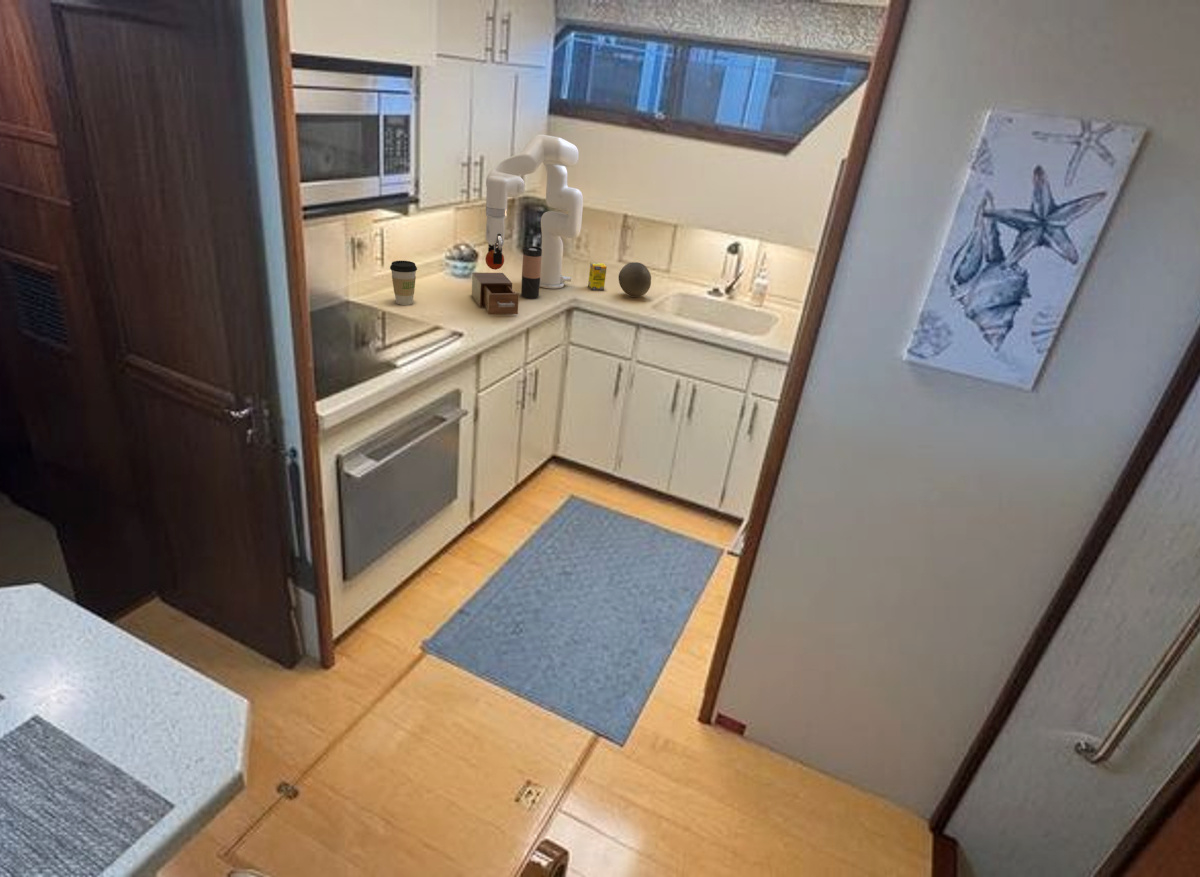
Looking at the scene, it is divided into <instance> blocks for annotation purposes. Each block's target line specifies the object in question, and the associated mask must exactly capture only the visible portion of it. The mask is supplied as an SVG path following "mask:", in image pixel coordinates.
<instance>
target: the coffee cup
mask: <svg viewBox="0 0 1200 877" xmlns="http://www.w3.org/2000/svg"><path fill="white" fill-rule="evenodd" d="M389 269H390V270H391V281H392V286H393V293H394V298H395V303H396V304H398V305H400V306H411V305H413V304H414V294H415V289H416V288H415V287H416V275H417V274H416V272H417V270H418V267H417V265H416V263H415V262H414V261H411V260H395V261H392V262H391V264H390V266H389Z"/></svg>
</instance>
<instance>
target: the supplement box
mask: <svg viewBox="0 0 1200 877" xmlns="http://www.w3.org/2000/svg"><path fill="white" fill-rule="evenodd" d="M606 275H607V266H606V265H605V263H603V262H600V263H599V262H590V264H589V272H588V283H587V287H588V288H589V289H590V290H591V291H602V292H604V291H605V284H606V277H607V276H606Z"/></svg>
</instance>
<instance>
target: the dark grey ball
mask: <svg viewBox="0 0 1200 877" xmlns="http://www.w3.org/2000/svg"><path fill="white" fill-rule="evenodd" d="M618 284H619V286H620V288H621V289H622V291H623V292H624V293H625V294H626V295H628V296H629V297H632V298H639V297H640V298H641V297H642V296H644V295H646V294H647V293H649V290H650V289H651V286H652V274H651V272H650V270H649V269H648V267H647V266H646V265H645V264H643V263H641V262H627V263H626V264H625V265H624V266H623V267H622V268H621V269H620V271H619V272H618Z"/></svg>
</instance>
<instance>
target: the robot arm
mask: <svg viewBox="0 0 1200 877" xmlns="http://www.w3.org/2000/svg"><path fill="white" fill-rule="evenodd" d="M579 157H580V152H579V149H578V147H577V146H576V145H575V144H574V143H572V142H570V141H568V140H566V139H564V138H562V137H560V136H553V135H548V134H535V135H534V136H533V137H531V138H530V140H529V141H528V142H527V143H526V145H525V146H524V147H523V148H522V149H521V151H520V152H519V153H518V154H514V155H512V156H509V157H507V158H504V159H502V160H500V161H498V162H497V163H496V164H495V165H494V166H493V167H492V168H491V170H490V171H489V172H488V174H487V176H486V179H485V186H486V195H485V196H486V202H485V207H486V208H485V216H486V227H485V241H486V242H487V243H488V246H487V247H488V248H487V250H488V251H487V253H488V252H489V251H491V250H494V253H493V263H494V264H502V254H503V247H504V245H505V225H506V223H505V219H506V218H507V217H508V198H518V197H520V196H521V195H522V194H524V191H525V188H526V185H525V181H524V179H523V178H522V177H521V176H526V175H530V174H533V173H535V172H536V171H537V170H538V168H539V167H540V166H541V165H542V164H543V166H544V168H545V170H546V186H545V187H546V188H545V204H546V206H547V207H549V208H551V209H555V210H560V211H564V212H560V211H554V210H548V211H545V212H543V214H542V215H541V218H540V230H541V245H540V246H541V247H540V248H541V249H542V258H541V275H540V286H539V288H544V289H550V290H551V289H552V290H554V289H562V288H563V287H565V286H564V285H565V282H569V283H570V282H571V281H572V277H571V276H565V275H563V274H562V270H563V269H562V268H563V267H562V266H563V257H564V255H563V254H564V243H563V240H562V238H566V239H572V240H573V239H577V238H578V237H579V236H580V234H581V231H582V224H583V223H582V222H583V210H584V196H583V192H582V191H581V190H580V189H579V188H576V187H571V186H569V185H568V170H567V168H573V167H574V166H576V165H577V163H578V161H579ZM565 211H566V212H567V213H565Z"/></svg>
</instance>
